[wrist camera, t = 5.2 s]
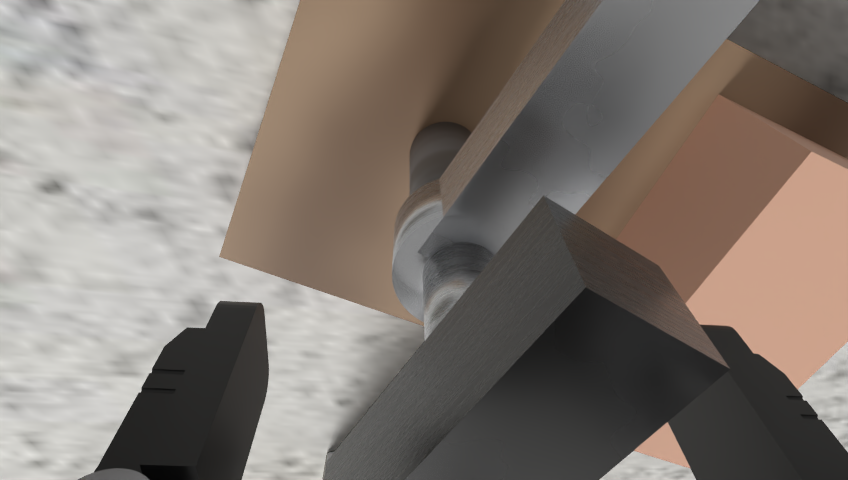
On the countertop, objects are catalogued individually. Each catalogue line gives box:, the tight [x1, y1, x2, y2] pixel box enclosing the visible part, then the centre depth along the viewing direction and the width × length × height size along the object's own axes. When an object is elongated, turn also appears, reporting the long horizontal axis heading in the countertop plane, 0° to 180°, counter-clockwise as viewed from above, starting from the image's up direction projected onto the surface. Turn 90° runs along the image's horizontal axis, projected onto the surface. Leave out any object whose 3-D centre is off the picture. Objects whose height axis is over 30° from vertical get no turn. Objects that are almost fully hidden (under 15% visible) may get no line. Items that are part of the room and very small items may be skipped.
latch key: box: [324, 0, 760, 480], centre depth 10 cm, size 14×3×8 cm, turn 147°
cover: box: [616, 94, 848, 468], centre depth 20 cm, size 6×11×5 cm, turn 156°
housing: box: [219, 0, 848, 326], centre depth 20 cm, size 22×14×8 cm, turn 66°
